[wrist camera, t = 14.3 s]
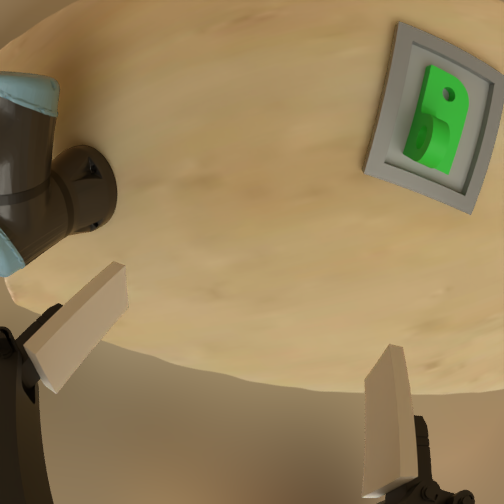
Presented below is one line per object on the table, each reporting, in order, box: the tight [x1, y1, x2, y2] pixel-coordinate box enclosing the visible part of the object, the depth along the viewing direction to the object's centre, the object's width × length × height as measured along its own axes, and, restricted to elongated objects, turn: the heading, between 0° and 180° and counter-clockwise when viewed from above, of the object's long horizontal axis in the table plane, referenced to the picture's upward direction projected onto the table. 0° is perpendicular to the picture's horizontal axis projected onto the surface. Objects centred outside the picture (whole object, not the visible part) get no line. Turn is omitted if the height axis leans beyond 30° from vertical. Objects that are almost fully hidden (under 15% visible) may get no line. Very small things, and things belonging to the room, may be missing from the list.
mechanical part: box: [403, 65, 469, 175], centre depth 24 cm, size 12×6×8 cm, turn 168°
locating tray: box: [362, 21, 504, 215], centre depth 27 cm, size 16×20×2 cm
